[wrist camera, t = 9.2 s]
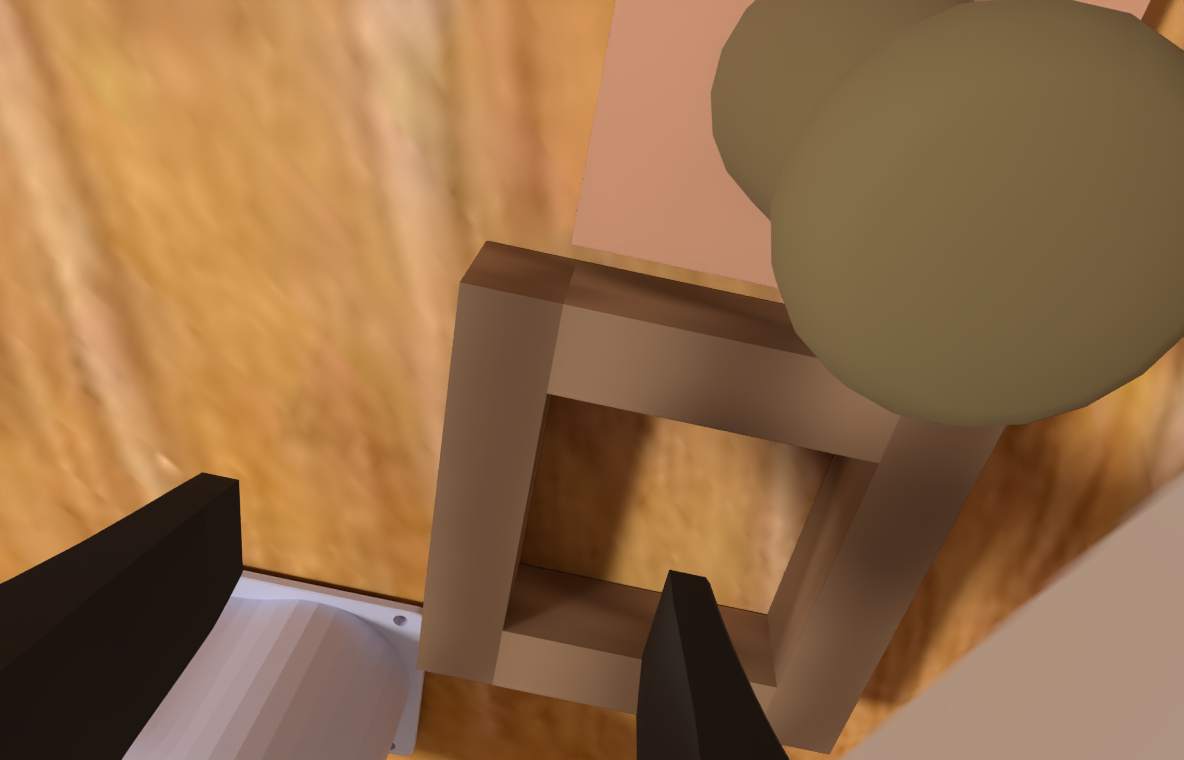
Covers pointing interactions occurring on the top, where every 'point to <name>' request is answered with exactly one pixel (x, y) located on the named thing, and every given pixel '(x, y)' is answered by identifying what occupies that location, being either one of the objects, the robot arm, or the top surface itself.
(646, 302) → the walnut holder
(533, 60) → the top surface
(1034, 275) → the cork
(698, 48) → the terracotta tile
